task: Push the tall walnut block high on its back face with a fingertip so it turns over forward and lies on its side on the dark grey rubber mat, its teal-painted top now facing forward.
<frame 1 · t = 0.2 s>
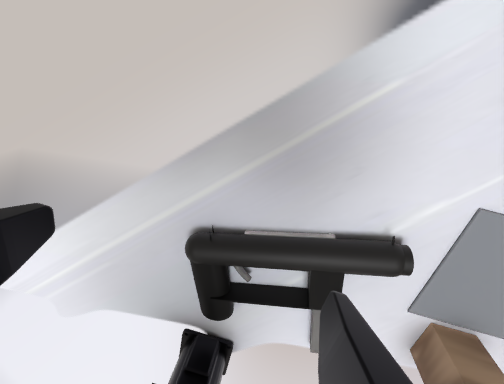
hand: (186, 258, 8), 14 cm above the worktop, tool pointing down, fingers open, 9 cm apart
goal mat: (495, 280, 22), on the worktop
door handle: (289, 283, 27), on the worktop
walnut block: (441, 343, 26), on the worktop
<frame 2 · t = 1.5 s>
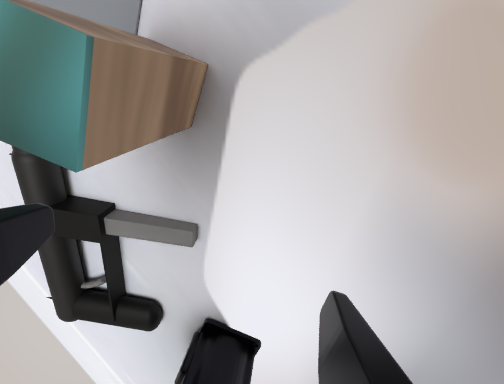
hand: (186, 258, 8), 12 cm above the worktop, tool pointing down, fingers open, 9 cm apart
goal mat: (54, 35, 18), on the worktop
door handle: (123, 241, 25), on the worktop
walnut block: (170, 84, 18), on the worktop
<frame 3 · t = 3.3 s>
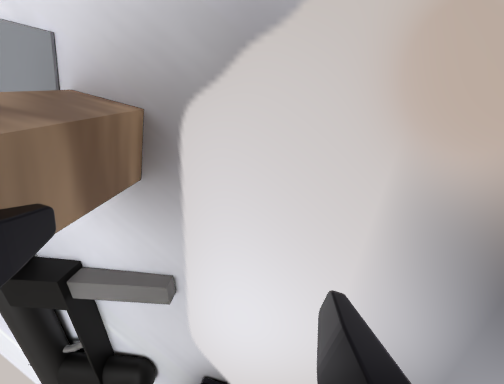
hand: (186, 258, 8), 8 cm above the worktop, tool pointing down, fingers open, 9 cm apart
door handle: (100, 298, 23), on the worktop
walnut block: (107, 137, 15), on the worktop, touching gripper
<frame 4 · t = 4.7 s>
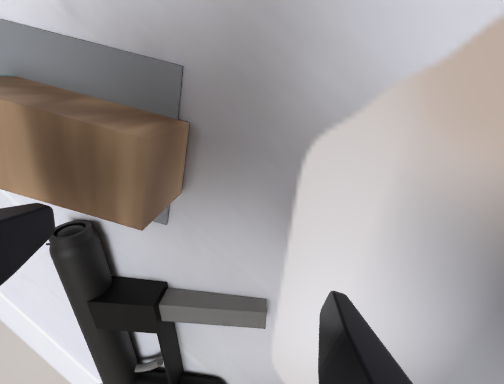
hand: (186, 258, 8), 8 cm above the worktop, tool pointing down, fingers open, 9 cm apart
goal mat: (82, 130, 16), on the worktop
door handle: (176, 317, 22), on the worktop
walnut block: (167, 172, 13), point 2 cm above the worktop, tilted 90°, touching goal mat
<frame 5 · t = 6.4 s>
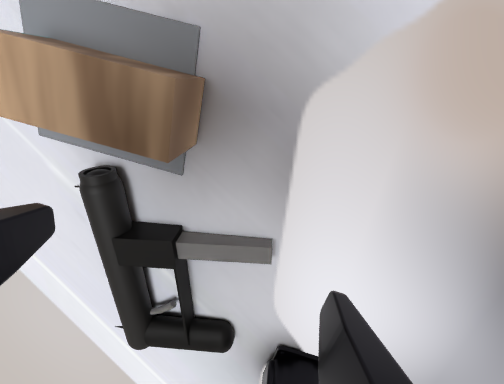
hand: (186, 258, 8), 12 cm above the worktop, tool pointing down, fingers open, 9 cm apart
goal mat: (109, 88, 18), on the worktop
door handle: (189, 263, 24), on the worktop
walnut block: (187, 117, 15), point 2 cm above the worktop, tilted 90°, touching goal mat
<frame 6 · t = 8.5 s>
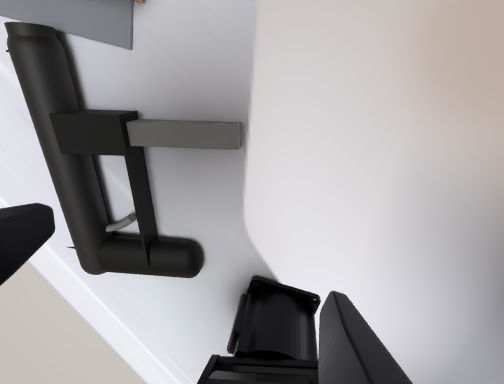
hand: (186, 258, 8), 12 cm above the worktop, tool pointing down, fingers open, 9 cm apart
door handle: (150, 168, 21), on the worktop
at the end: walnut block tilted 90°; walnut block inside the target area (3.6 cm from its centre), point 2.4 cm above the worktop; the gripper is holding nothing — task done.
